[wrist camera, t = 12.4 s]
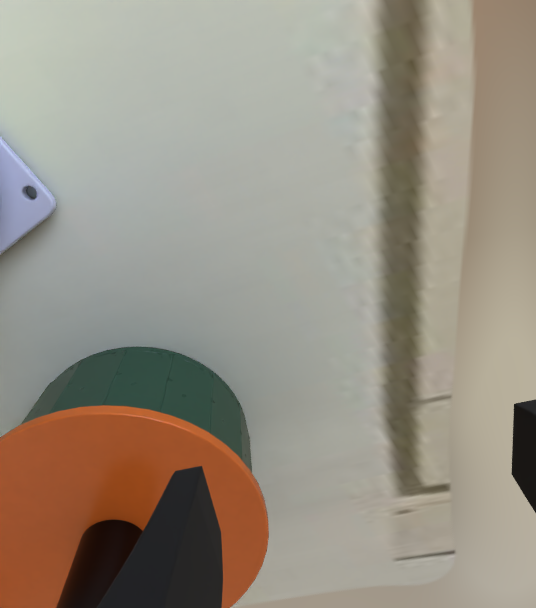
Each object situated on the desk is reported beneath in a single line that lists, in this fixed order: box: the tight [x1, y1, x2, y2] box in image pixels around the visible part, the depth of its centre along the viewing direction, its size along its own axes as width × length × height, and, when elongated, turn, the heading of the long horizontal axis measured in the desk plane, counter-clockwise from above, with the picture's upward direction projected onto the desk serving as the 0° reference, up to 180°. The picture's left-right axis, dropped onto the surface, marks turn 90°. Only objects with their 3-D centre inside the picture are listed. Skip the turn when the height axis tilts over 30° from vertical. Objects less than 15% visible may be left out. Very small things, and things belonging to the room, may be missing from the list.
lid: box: [0, 405, 269, 608], centre depth 15 cm, size 11×11×4 cm
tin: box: [21, 347, 252, 473], centre depth 19 cm, size 10×10×5 cm
